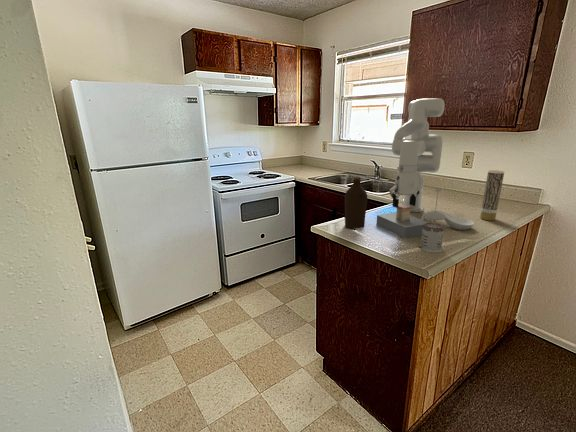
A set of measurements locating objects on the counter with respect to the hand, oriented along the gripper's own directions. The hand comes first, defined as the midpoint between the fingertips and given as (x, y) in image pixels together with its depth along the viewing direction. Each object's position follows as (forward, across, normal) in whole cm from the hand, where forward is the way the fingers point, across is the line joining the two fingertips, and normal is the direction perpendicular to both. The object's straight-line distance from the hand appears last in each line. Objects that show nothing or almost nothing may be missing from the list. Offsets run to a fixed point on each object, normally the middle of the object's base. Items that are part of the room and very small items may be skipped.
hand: (403, 206), depth 143 cm
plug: (+11, +1, 0) cm, 11 cm away
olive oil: (+13, -16, +15) cm, 25 cm away
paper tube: (+12, +54, -2) cm, 55 cm away
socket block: (+12, +1, +1) cm, 12 cm away
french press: (+13, -1, -19) cm, 23 cm away
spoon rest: (+12, +25, -2) cm, 28 cm away
